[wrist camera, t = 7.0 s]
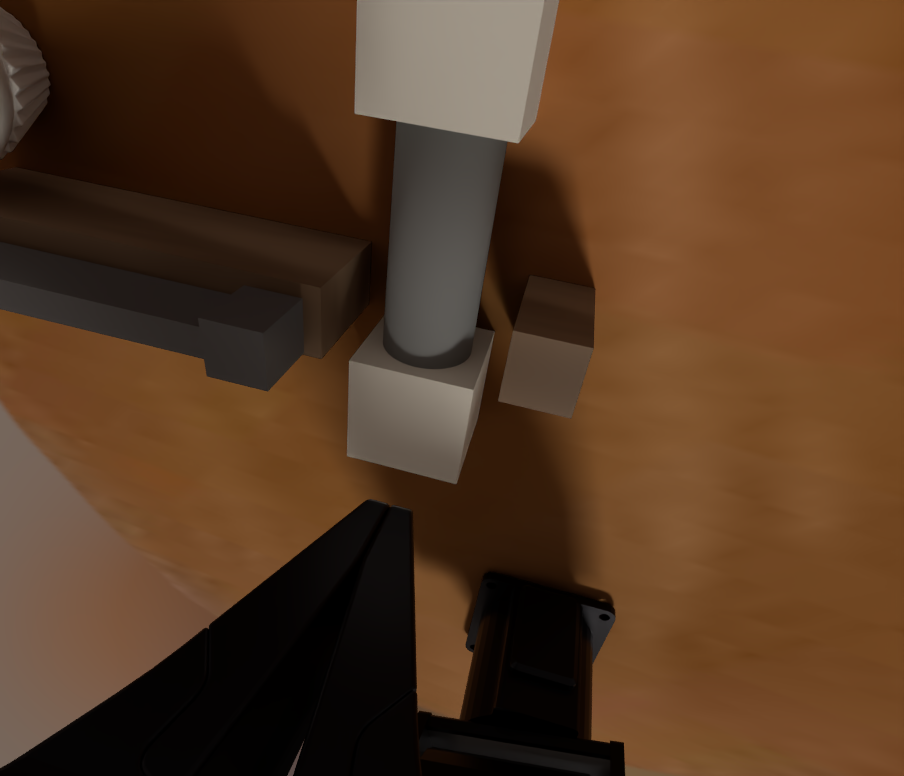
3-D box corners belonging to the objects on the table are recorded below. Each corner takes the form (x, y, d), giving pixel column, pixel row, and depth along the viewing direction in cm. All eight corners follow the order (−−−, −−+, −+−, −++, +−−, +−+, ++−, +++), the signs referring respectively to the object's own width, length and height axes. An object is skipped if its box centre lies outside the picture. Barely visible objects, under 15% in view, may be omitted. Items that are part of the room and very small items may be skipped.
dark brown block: (576, 350, 19) (571, 418, 16) (35, 229, 22) (-71, 265, 19) (595, 288, 18) (593, 348, 15) (15, 167, 21) (-102, 193, 17)
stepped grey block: (304, 352, 16) (267, 391, 15) (-149, 244, 18) (-231, 267, 17) (302, 298, 15) (262, 333, 14) (-177, 190, 17) (-267, 208, 16)
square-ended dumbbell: (477, 417, 22) (456, 484, 19) (384, 394, 23) (347, 455, 19) (570, -55, 14) (559, -83, 10) (415, -77, 14) (359, -109, 11)
